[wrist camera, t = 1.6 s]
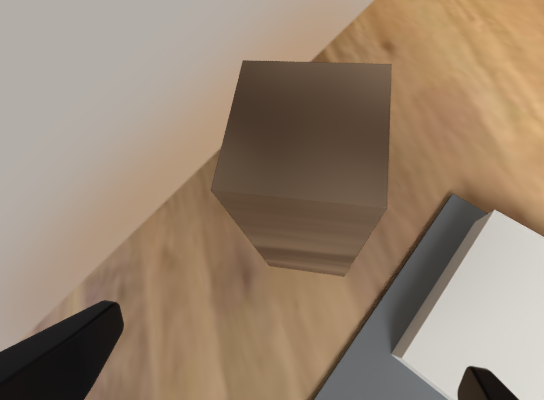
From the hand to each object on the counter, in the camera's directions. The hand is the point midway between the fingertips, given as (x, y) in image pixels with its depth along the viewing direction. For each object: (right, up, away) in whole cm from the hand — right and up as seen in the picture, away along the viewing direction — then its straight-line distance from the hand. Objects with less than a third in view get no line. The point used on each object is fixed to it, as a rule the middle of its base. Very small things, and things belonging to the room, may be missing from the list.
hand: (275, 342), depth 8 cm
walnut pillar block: (+3, +1, +14) cm, 14 cm away
